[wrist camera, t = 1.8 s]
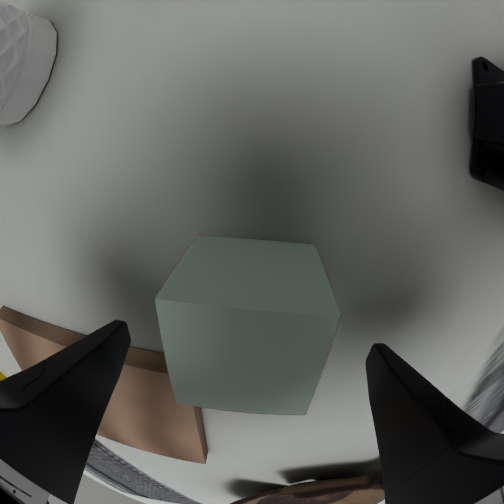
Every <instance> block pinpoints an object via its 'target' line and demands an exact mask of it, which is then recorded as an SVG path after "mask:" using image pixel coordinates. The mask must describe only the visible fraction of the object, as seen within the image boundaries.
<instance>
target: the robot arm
mask: <svg viewBox="0 0 504 504" xmlns="http://www.w3.org/2000/svg"><path fill="white" fill-rule="evenodd" d="M482 66H483V67H482ZM474 76H475V128H474V142H473V153H472V161H471V174H472V176H473V178H474V179H476V180H479V181H482V182H484V183H487V184H489V185H492V186H495V187H497V188H499V189H502V190H504V71H502V70H501V69H500V68H498V67H497V66H495V65H494V64H493V63H491V62H490V61H488V60H487V59H485V58H483V57H478V58H475V59H474ZM479 168H480V173H479ZM130 342H131V338H130V334H129V330H128V326H127V323H126V322H125V321H121V320H114V321H112V322H111V323H109V324H107V325H105V326H103V327H102V328H100V329H98V330H96V331H94V332H93V333H91V334H89V335H87V336H85V337H84V338H82V339H80V340H78V341H76V342H75V343H73V344H71V345H69V346H67V347H66V348H64V349H62V350H60V351H58V352H57V353H55V354H53V355H51V356H49V357H48V358H46V359H44V360H42V361H40V362H39V363H37V364H35V365H33V366H31V367H29V368H27V369H25V370H23V371H21V372H19V373H17V374H14V375H12V376H10V377H8V378H5V379H3V380H1V381H0V504H49V502H48V498H49V495H50V494H52V495H53V496H55V497H57V498H59V499H60V500H62V501H64V502H66V503H68V504H74V500H75V497H76V494H77V490H78V487H79V484H80V481H81V477H82V474H83V471H84V468H85V465H86V464H85V463H86V462H87V459H88V456H89V453H90V450H91V448H92V445H93V442H94V439H95V437H96V434H97V431H98V429H99V426H100V423H101V421H102V418H103V416H104V413H105V411H106V408H107V406H108V403H109V401H110V399H111V396H112V394H113V391H114V389H115V387H116V384H117V382H118V380H119V377H120V374H121V371H122V368H123V365H124V362H125V359H126V355H127V352H128V349H129V346H130ZM366 373H367V382H368V392H369V400H370V406H371V411H372V416H373V421H374V426H375V432H376V437H377V443H378V449H379V455H380V462H381V469H382V477H383V485H384V493H385V494H384V495H385V504H504V434H500V433H495V432H493V431H491V430H489V429H488V428H486V427H485V426H483V425H482V424H481V423H479V422H478V421H476V420H475V419H474V418H472V417H471V416H470V415H468V414H467V413H466V412H464V411H463V410H462V409H460V408H459V407H458V406H457V405H455V404H454V403H453V402H452V401H451V400H450V399H448V398H447V397H446V396H445V395H444V394H443V393H441V392H440V391H439V390H438V389H437V388H436V387H435V386H433V385H432V384H431V383H430V382H429V381H428V380H426V379H425V378H424V377H423V376H422V375H421V374H420V373H418V372H417V371H416V370H415V369H414V368H413V367H411V366H410V365H409V364H408V363H407V362H405V361H404V360H403V359H402V358H401V357H400V356H398V355H397V354H396V353H395V352H394V351H393V350H391V349H390V348H389V347H388V346H387V345H385V344H384V343H375V344H373V346H372V347H371V350H370V352H369V354H368V357H367V359H366Z"/></svg>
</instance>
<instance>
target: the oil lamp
mask: <svg viewBox="0 0 504 504" xmlns="http://www.w3.org/2000/svg"><path fill="white" fill-rule="evenodd" d="M384 494H385V493H384V485H383V477H382V469H377V470H374V471H372V472H370V473H369V474H367V475H364V476H360V477H353V478H337V479H327V480H318V481H311V482H303V483H298V484H293V485H289V486H286V487H284V488H278V489H274V490H271V491H266V492H262V493H259V494H256V495H252V496H249V497H246V498H243V499H241V500H238V501H235V502H233V503H231V504H377V503H379V502H381V501H382V500H384V499H385V495H384Z"/></svg>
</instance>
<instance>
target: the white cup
mask: <svg viewBox="0 0 504 504" xmlns="http://www.w3.org/2000/svg"><path fill="white" fill-rule="evenodd" d="M56 41H57V32H56V30H55V29H54V27H53V26H52V24H51V22H50V21H49V20H47V19H44V18H41V17H38V16H36V15H33V14H30V13H27V12H23V11H21V10H20V9H18V8H16V7H14V6H12V5H9V4H5V3H0V128H2V127H7V126H9V125H12V124H14V123H17V122H19V121H21V120H22V119H23V118H24V117H25V116H26V115H27V113H28V112H29V111H30V110H31V109H32V108H33V107H34V106H35V104H36V103H37V101H38V99H39V97H40V95H41V93H42V91H43V89H44V87H45V85H46V83H47V81H48V79H49V76H50V72H51V69H52V66H53V62H54V59H55V56H56Z"/></svg>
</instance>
